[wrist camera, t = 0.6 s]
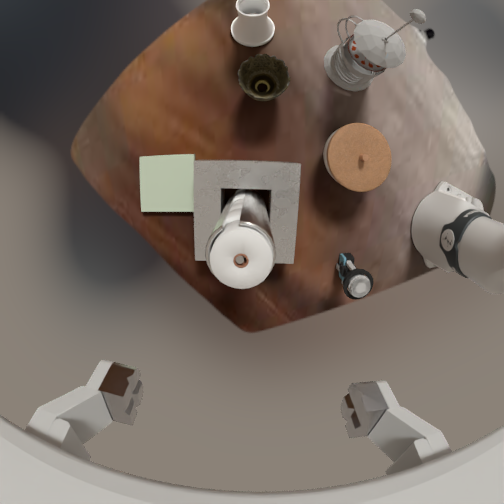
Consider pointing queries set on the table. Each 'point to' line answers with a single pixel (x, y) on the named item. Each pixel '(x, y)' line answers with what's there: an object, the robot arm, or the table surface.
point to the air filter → (242, 242)
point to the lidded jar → (357, 157)
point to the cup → (263, 77)
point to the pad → (167, 183)
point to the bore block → (247, 177)
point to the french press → (366, 52)
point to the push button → (353, 277)
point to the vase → (252, 23)
